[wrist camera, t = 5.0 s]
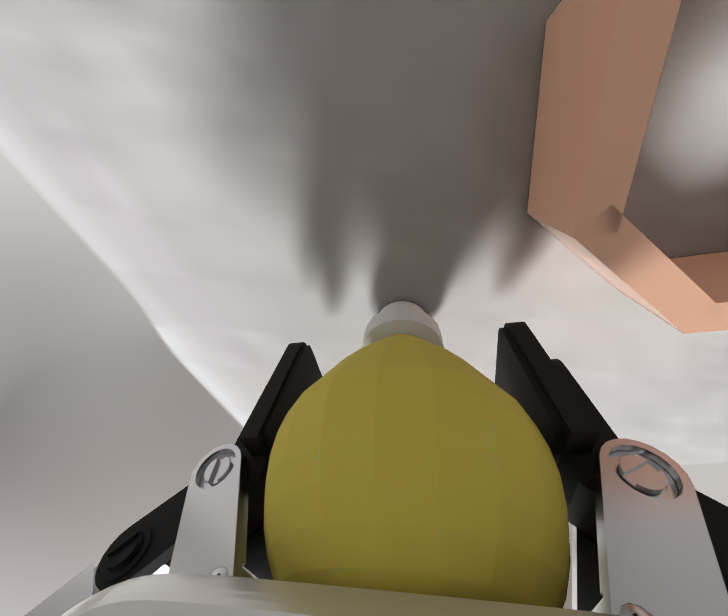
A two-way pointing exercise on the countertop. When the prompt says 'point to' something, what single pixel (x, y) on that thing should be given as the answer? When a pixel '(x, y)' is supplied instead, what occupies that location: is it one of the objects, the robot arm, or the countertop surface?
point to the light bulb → (415, 478)
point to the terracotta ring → (613, 155)
